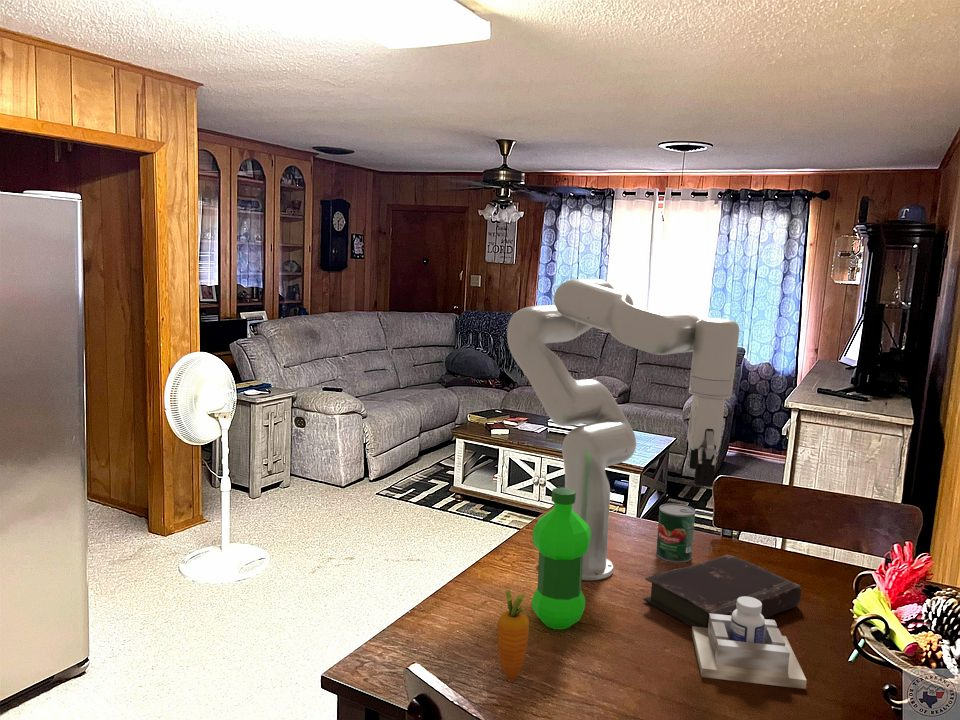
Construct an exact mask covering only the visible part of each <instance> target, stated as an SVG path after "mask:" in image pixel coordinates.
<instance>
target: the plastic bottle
mask: <svg viewBox="0 0 960 720" xmlns="http://www.w3.org/2000/svg"><path fill="white" fill-rule="evenodd" d="M575 500H576V491H574V490H573V489H569V488H565V487H555V488H553V489H552V490H551V501H552V503H553V504H554V505H553V506H554V507H553V508H552V509H551V510H549V511H548V512H546V513H545V514H544V515H543V516H541V517H540V518H539V519H538V520H537V521H536V523H535V525H534V528H533V529H532V543H533V546H534V547H535V548H536V549H537V550H538V551H539V552H538V569H537V570H538V571H537V588H536V590H535V592H534V594H533V595H532V598H531V607H532V610H533V612H534V613H535V615H536V616H537V618H539V619H540V621H541V622H542V623H543V624H544V625H545V626H546V627H548V628H550V629H553V630H566V629H569V628H571V626H573V625H574V624H577V623H578V622H579V621H580V620H581V618H582V615H583V614H584V611H585V608H586V602H587V601H586V597H585V595H584V593H583V590H582V581H583V580H582V561H583V555H584V554H585V553H586V552H587V549H588V547H589V544H590V540H591V531H590V528H589V525H588V524H587V523H586V522H585V521H584V520H583V519H582V518H581V517H580V516H579V515H577V514H576V513H575V512H574V511H573V510H572V504H574V503H575Z"/></svg>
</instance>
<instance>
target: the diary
mask: <svg viewBox="0 0 960 720" xmlns="http://www.w3.org/2000/svg"><path fill="white" fill-rule="evenodd" d="M645 581H648V582H650V583H651V591H650V596H649V597H648V596H647V597H645V598H643V601H645V602H646V603H648V604H650V605H652V606H653V607H656V608H657V609H659V610H661V611H662V612H665V613H666V614H668V615H670V616H672V617H674V618H675V619H678V620H679V621H681V622H682V623H684V624H686V625H687V626H689V627H691V628H692V626H694V627H704V628H708V624H709V613H711V614H720V615H730V616H732V613H733V611H734V610H736V609H737V608H736V604H737V599H738V598H739V597H743V596H747V597H752V598H755V599H757V600H759V601H760V602H761V603H762V611H761V614H762V615H763V617H764V619H767V618H770V617H772V616H775V615H777V614H779V613H781V612H785V611H788V610H790V609H793V608H796V607H798V606H799V605H800V602H801V598H802V587H801V585H800V584H798V583H796V582H794V581H791V580H789V579H786V578H784V577H782V576H780V575H777V574H776V573H774V572H772V571H769V570H768V569H766V568H763V567H761V566H759V565H756V564H755V563H753V562H750V561H747V560H745V559H742V558H739V557H737V556H734V555H731V554H725V555H721V556H719V557H714V558H712V559H709V560H705V561H702V562H699V563H697V564H696V563H695V564H693V565H689V566H683V567H680V568H674V569H668V570H665V571H663V572H660V573H657V574H653V575H650V576H647V577H645Z"/></svg>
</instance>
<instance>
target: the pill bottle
mask: <svg viewBox="0 0 960 720" xmlns="http://www.w3.org/2000/svg"><path fill="white" fill-rule="evenodd" d="M736 608H737V609H736V610H734V611H733V613H732V617H731V629H730V640H731V641H741V642H750V643H759V644H763V636H764V625H765V619H764V617H763V615H762V614H761V611H762V603H761V602H760V601H759V600H757V599H755V598H752V597H747V596H743V597H739V598H738V599H737V604H736Z"/></svg>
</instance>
